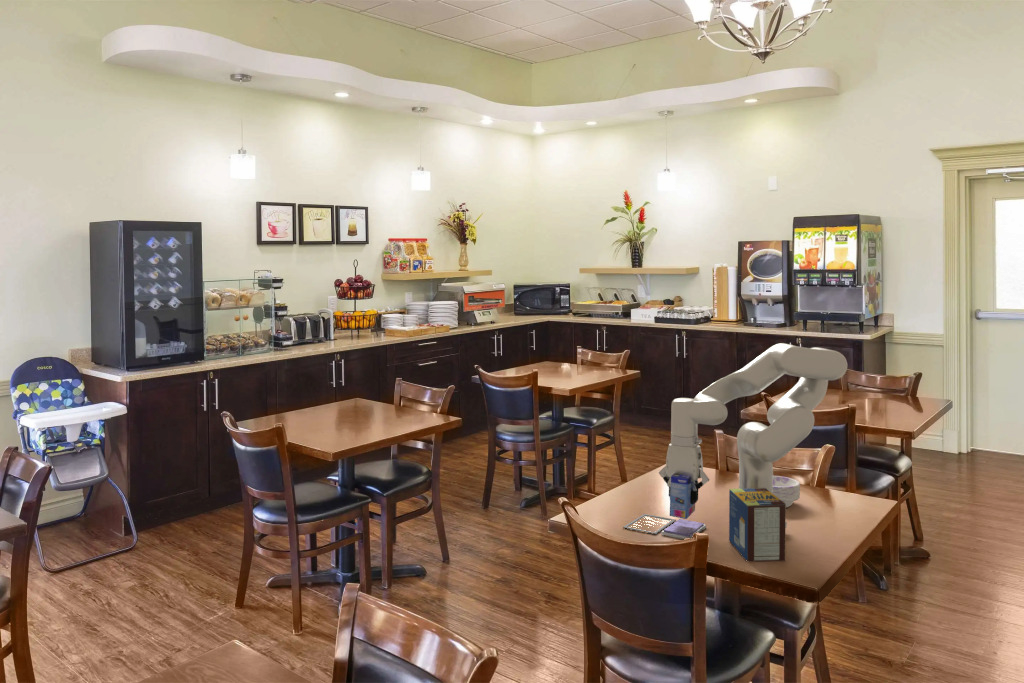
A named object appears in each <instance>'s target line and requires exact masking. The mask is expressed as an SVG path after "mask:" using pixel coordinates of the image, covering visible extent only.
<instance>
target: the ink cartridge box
mask: <svg viewBox="0 0 1024 683" xmlns="http://www.w3.org/2000/svg"><path fill="white" fill-rule="evenodd" d="M691 491H692V486H691V478H690V476H686V475H681V474H673V475H672V476H671V489H670V497H669V517H673V518H679V519H683V520H688V518H689V517H690V516H691V515H692V514H693V513H694V512H695V511H696V503H694V504H691V503H690V502H691Z"/></svg>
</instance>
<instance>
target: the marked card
mask: <svg viewBox="0 0 1024 683" xmlns="http://www.w3.org/2000/svg"><path fill="white" fill-rule="evenodd" d="M647 516H648V517H647ZM649 516H650V517H654V518H655V519H656V518H657V519H658V520H659V519H660V520H661V519H662V521H663V522H659V521H655V520H653V519H652V518H650V517H649ZM644 517H645V518H646V519H647V520H648V519H649V520H652V521H654V522H657V523H658V522H659V523H662V524H666V525H664V526H663V527H661V528H660V529H658V530H657V531H655V532H651V531H646V530H641V529H636V528H637V527H636V526H637V525H638V524H635V523H637V521H638V520H639V519H641V518H644ZM645 518H644V519H645ZM670 520H671V521H670ZM640 521H641V520H640ZM664 521H665V522H664ZM666 521H667V522H669V523H667V522H666ZM674 521H675V522H676V521H677V520H676V519H675V518H670V517H664V516H659V515H653V514H648V513H643V514H641V515H640V516H638V517H637V518H635V519H634V520H632V521H630V522H628V523H627V524H625V525H623V527H622V529H623V528H628V529H632V530H637V531H644V532H648V533H653V534H657V533H658V532H660V531H661V530H662V531H663V529H664V528H665V529H666V527H667V526H668V527H669V525H670V524H671V525H672V523H673V522H674ZM643 522H644V521H643ZM645 522H646V523H647V522H648V523H651V524H653V525H654V524H655V523H654V522H651V521H645ZM675 522H674V523H675ZM633 523H634V524H633ZM638 523H640V522H638ZM632 524H633V525H636V526H633V527H636V528H631V527H632V526H631V527H628V526H630V525H632ZM641 524H642V523H641ZM644 525H645V524H644ZM646 525H649V526H652V525H650V524H646ZM655 525H656V524H655ZM657 525H658V524H657ZM638 526H641V525H638ZM660 526H661V525H660ZM641 527H642V526H641ZM653 527H654V526H653ZM638 528H639V527H638ZM648 528H649V527H648ZM632 530H631V531H632ZM637 531H636V532H637ZM662 531H661V532H662ZM661 532H660V533H661ZM658 534H659V533H658ZM658 534H657V535H658Z"/></svg>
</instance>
